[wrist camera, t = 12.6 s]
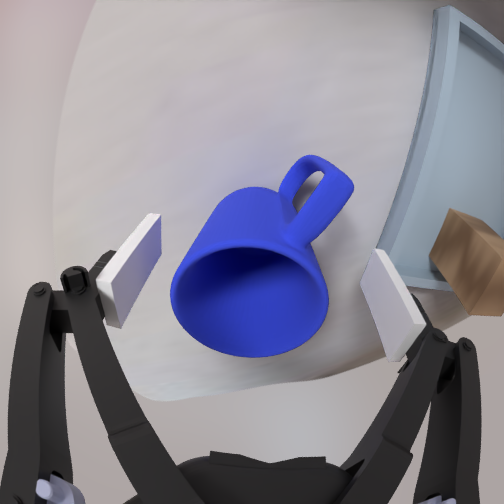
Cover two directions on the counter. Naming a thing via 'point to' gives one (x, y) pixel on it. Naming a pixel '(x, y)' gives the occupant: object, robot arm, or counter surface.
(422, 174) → the tray
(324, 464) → the robot arm
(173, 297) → the mug
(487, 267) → the walnut block
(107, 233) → the counter surface
